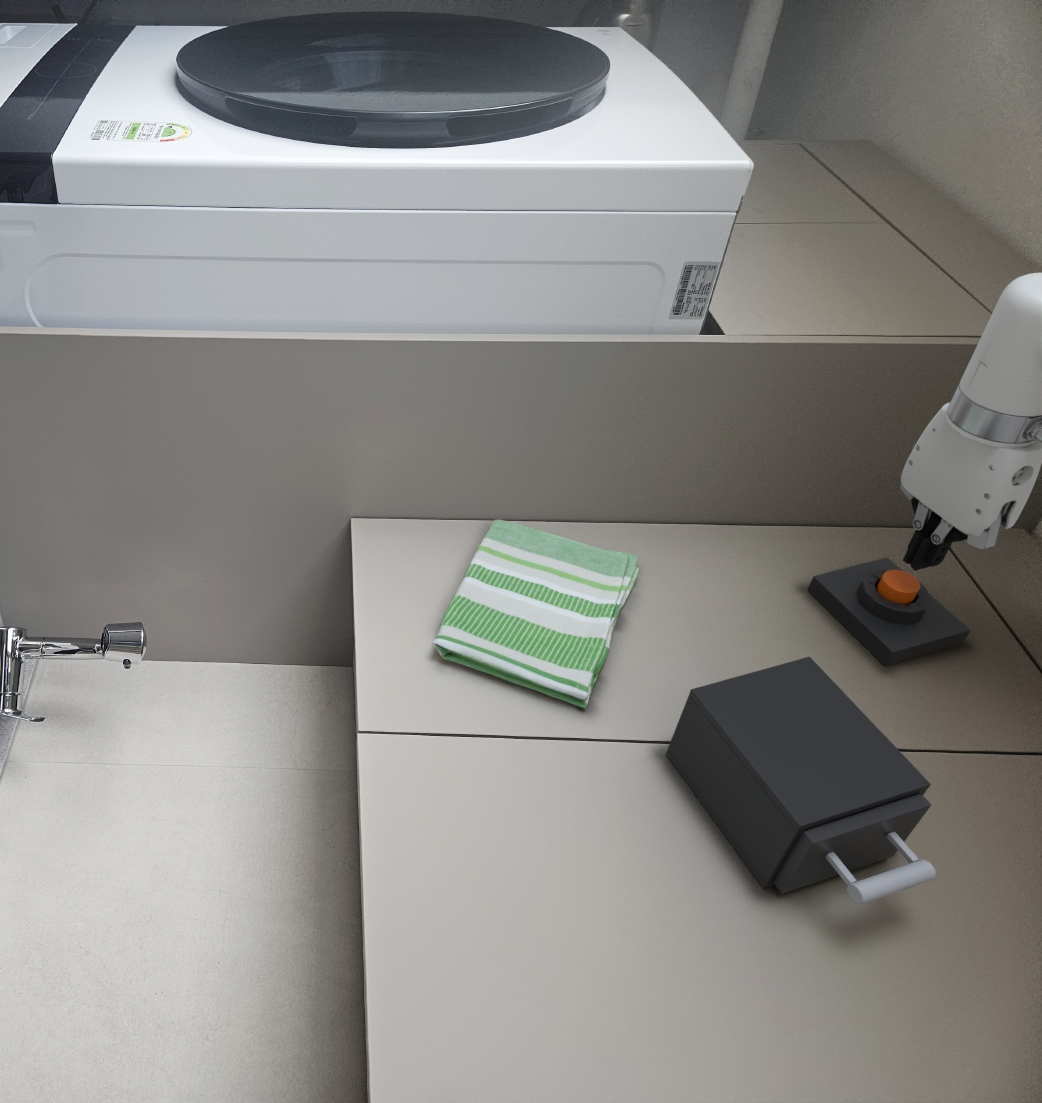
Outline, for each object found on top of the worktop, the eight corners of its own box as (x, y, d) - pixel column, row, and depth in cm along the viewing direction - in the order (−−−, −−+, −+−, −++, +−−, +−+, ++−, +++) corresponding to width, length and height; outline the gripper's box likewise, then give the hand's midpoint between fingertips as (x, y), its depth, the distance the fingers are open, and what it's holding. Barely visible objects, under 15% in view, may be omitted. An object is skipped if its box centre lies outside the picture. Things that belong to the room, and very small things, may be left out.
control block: (962, 644, 101) (979, 617, 99) (884, 666, 99) (899, 640, 97) (879, 571, 110) (893, 545, 107) (806, 590, 108) (819, 564, 105)
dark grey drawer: (932, 900, 79) (974, 850, 74) (816, 941, 77) (852, 892, 71) (790, 735, 92) (817, 682, 87) (687, 765, 89) (709, 713, 84)
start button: (921, 600, 101) (928, 588, 100) (893, 607, 101) (900, 596, 99) (896, 578, 104) (902, 566, 103) (869, 585, 103) (875, 573, 102)
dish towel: (639, 570, 111) (644, 552, 109) (591, 714, 95) (596, 697, 93) (491, 527, 117) (493, 510, 115) (422, 657, 101) (424, 639, 99)
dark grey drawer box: (885, 847, 84) (931, 784, 77) (762, 888, 81) (800, 826, 75) (776, 721, 94) (809, 656, 88) (665, 754, 91) (690, 689, 85)
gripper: (1104, 448, 82) (1009, 601, 94) (965, 365, 93) (896, 512, 105) (1034, 465, 81) (947, 619, 93) (901, 380, 92) (838, 527, 104)
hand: (920, 562), depth 99 cm, fingers closed
